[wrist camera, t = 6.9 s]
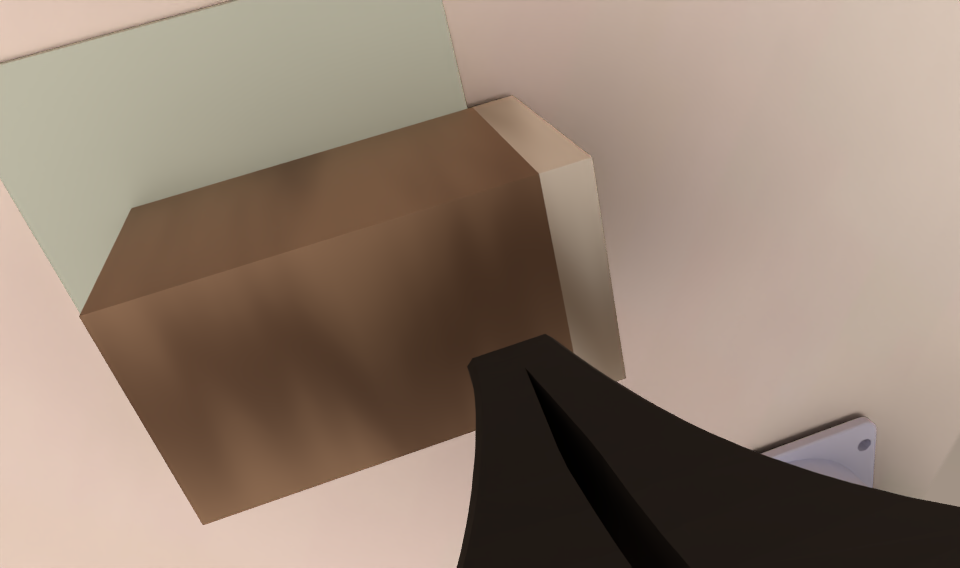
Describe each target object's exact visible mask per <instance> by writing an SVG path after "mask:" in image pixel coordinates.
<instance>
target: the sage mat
mask: <svg viewBox="0 0 960 568" xmlns="http://www.w3.org/2000/svg"><path fill="white" fill-rule="evenodd" d="M464 109H467V104H466V100H465V96H464V92H463V88H462V83H461V79H460V75H459V71H458V66H457V62H456V58H455V54H454V49H453V45H452V41H451V37H450V32H449V28H448V24H447V20H446V15H445V11H444V7H443V3H442V0H232V1H228V2H224V3H220V4H217V5H213V6H209V7H206V8H202V9H198V10H195V11H191V12H187V13H184V14H180V15H176V16H172V17H169V18H165V19H161V20H158V21H154V22H150V23H147V24H143V25H139V26H135V27H132V28H128V29H124V30H121V31H117V32H113V33H110V34H106V35H102V36H98V37H95V38H91V39H87V40H84V41H80V42H76V43H73V44H69V45H65V46H61V47H58V48H54V49H50V50H47V51H43V52H39V53H36V54H32V55H28V56H25V57H21V58H17V59H13V60H10V61H6V62H2V63H0V179H1V181H2V182H3V184H4V186H5V188H6V189H7V191H8V193H9V194H10V196H11V198H12V199H13V201H14V203H15V204H16V206H17V208H18V210H19V211H20V213H21V215H22V216H23V218H24V220H25V221H26V223H27V225H28V226H29V228H30V230H31V231H32V233H33V235H34V237H35V238H36V240H37V242H38V243H39V245H40V247H41V248H42V250H43V252H44V253H45V255H46V257H47V258H48V260H49V262H50V264H51V265H52V267H53V269H54V270H55V272H56V274H57V275H58V277H59V279H60V280H61V282H62V284H63V285H64V287H65V289H66V291H67V292H68V294H69V296H70V297H71V299H72V301H73V302H74V304H75V306H76V307H77V309H78V311H79V313H81V311H82V309H83V307H84V305H85V303H86V301H87V299H88V297H89V295H90V293H91V291H92V289H93V287H94V284H95V282H96V280H97V278H98V276H99V274H100V272H101V270H102V268H103V266H104V264H105V262H106V260H107V258H108V256H109V253H110V251H111V249H112V247H113V245H114V243H115V241H116V239H117V237H118V235H119V233H120V231H121V229H122V227H123V224H124V222H125V220H126V218H127V216H128V214H129V212H130V210H131V208H134V207H137V206H141V205H144V204H148V203H151V202H154V201H158V200H161V199H164V198H168V197H171V196H175V195H178V194H181V193H185V192H188V191H191V190H195V189H198V188H202V187H205V186H208V185H212V184H215V183H218V182H222V181H225V180H228V179H232V178H235V177H239V176H242V175H245V174H249V173H252V172H255V171H259V170H262V169H266V168H269V167H272V166H276V165H279V164H282V163H286V162H289V161H293V160H296V159H299V158H303V157H306V156H309V155H313V154H316V153H319V152H323V151H326V150H330V149H333V148H336V147H340V146H343V145H346V144H350V143H353V142H357V141H360V140H363V139H367V138H370V137H373V136H377V135H380V134H384V133H387V132H390V131H394V130H397V129H400V128H404V127H407V126H411V125H414V124H417V123H421V122H424V121H427V120H431V119H434V118H437V117H441V116H444V115H448V114H451V113H454V112H458V111H461V110H464Z"/></svg>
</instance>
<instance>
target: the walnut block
mask: <svg viewBox="0 0 960 568" xmlns="http://www.w3.org/2000/svg"><path fill="white" fill-rule="evenodd" d="M79 317H80V319H81V320H82V322H83V324H84V325H85V327H86V329H87V331H88V332H89V334H90V336H91V337H92V339H93V341H94V342H95V344H96V346H97V347H98V349H99V351H100V352H101V354H102V356H103V357H104V359H105V361H106V363H107V364H108V366H109V368H110V369H111V371H112V373H113V374H114V376H115V378H116V379H117V381H118V383H119V384H120V386H121V388H122V389H123V391H124V393H125V395H126V396H127V398H128V400H129V401H130V403H131V405H132V406H133V408H134V410H135V411H136V413H137V415H138V416H139V418H140V420H141V421H142V423H143V425H144V427H145V428H146V430H147V432H148V433H149V435H150V437H151V438H152V440H153V442H154V443H155V445H156V447H157V448H158V450H159V452H160V453H161V455H162V457H163V459H164V460H165V462H166V464H167V465H168V467H169V469H170V470H171V472H172V474H173V475H174V477H175V479H176V480H177V482H178V484H179V485H180V487H181V489H182V491H183V492H184V494H185V496H186V497H187V499H188V501H189V502H190V504H191V506H192V507H193V509H194V511H195V512H196V514H197V516H198V518H199V519H200V521H201V523H202V524H203V525H205V524H208V523H211V522H214V521H217V520H219V519H222V518H225V517H228V516H231V515H234V514H237V513H240V512H242V511H245V510H248V509H251V508H254V507H257V506H260V505H263V504H266V503H268V502H271V501H274V500H277V499H280V498H283V497H286V496H289V495H291V494H294V493H297V492H300V491H303V490H306V489H309V488H312V487H314V486H317V485H320V484H323V483H326V482H329V481H332V480H335V479H337V478H340V477H343V476H346V475H349V474H352V473H355V472H358V471H360V470H363V469H366V468H369V467H372V466H375V465H378V464H381V463H384V462H386V461H389V460H392V459H395V458H398V457H401V456H404V455H407V454H409V453H412V452H415V451H418V450H421V449H424V448H427V447H430V446H432V445H435V444H438V443H441V442H444V441H447V440H450V439H453V438H455V437H458V436H461V435H464V434H467V433H470V432H473V431H476V410H475V396H474V389H473V385H472V382H471V378H470V375H469V371H468V368H467V366H468V364H469V363H470V361H471V360H472V358H475V357H478V356H481V355H483V354H486V353H489V352H492V351H495V350H498V349H501V348H504V347H507V346H510V345H513V344H516V343H519V342H522V341H525V340H528V339H531V338H534V337H537V336H540V335H543V334H547V335H549V336H551V337H552V338H554V339H555V340H557V341H558V342H559V343H561V344H562V345H563V346H565V347H566V348H567V349H569V350H570V351H572V352H573V353H574V354H576V355H577V356H579V357H580V358H581V359H583V360H584V361H586V362H587V363H589V364H590V365H592V366H593V367H595V368H596V369H597V370H599V371H600V372H602V373H604V374H605V375H607V376H608V377H610V378H611V379H613V380H614V381H616V382H617V381H619V380H622V379H625V378H626V375H625V369H624V362H623V356H622V349H621V342H620V336H619V329H618V323H617V316H616V310H615V303H614V297H613V290H612V284H611V277H610V271H609V264H608V257H607V251H606V244H605V238H604V231H603V225H602V218H601V212H600V205H599V199H598V192H597V185H596V179H595V172H594V166H593V159H592V157H591V156H590V155H589V154H588V153H586V152H585V151H584V150H582V149H581V148H580V147H578V146H577V145H576V144H575V143H573V142H572V141H571V140H569V139H568V138H567V137H566V136H564V135H563V134H562V133H560V132H559V131H558V130H557V129H555V128H554V127H553V126H551V125H550V124H549V123H548V122H546V121H545V120H544V119H542V118H541V117H540V116H539V115H537V114H536V113H535V112H533V111H532V110H531V109H530V108H528V107H527V106H526V105H524V104H523V103H522V102H521V101H519V100H518V99H517V98H515V97H514V96H513V95H512V96H508V97H505V98H502V99H498V100H495V101H491V102H488V103H485V104H481V105H478V106H475V107H471V108H468V109H464V110H461V111H458V112H454V113H451V114H448V115H444V116H441V117H437V118H434V119H431V120H427V121H424V122H421V123H417V124H414V125H411V126H407V127H404V128H400V129H397V130H394V131H390V132H387V133H384V134H380V135H377V136H373V137H370V138H367V139H363V140H360V141H357V142H353V143H350V144H346V145H343V146H340V147H336V148H333V149H330V150H326V151H323V152H319V153H316V154H313V155H309V156H306V157H303V158H299V159H296V160H293V161H289V162H286V163H282V164H279V165H276V166H272V167H269V168H266V169H262V170H259V171H255V172H252V173H249V174H245V175H242V176H239V177H235V178H232V179H228V180H225V181H222V182H218V183H215V184H212V185H208V186H205V187H202V188H198V189H195V190H191V191H188V192H185V193H181V194H178V195H175V196H171V197H168V198H164V199H161V200H158V201H154V202H151V203H148V204H144V205H141V206H137V207H134V208H131V210H130V212H129V214H128V216H127V218H126V220H125V222H124V224H123V227H122V229H121V231H120V233H119V235H118V237H117V239H116V241H115V243H114V245H113V247H112V249H111V251H110V253H109V256H108V258H107V260H106V262H105V264H104V266H103V268H102V270H101V272H100V274H99V276H98V278H97V280H96V282H95V284H94V287H93V289H92V291H91V293H90V295H89V297H88V299H87V301H86V303H85V305H84V307H83V309H82V311H81V313H80V316H79Z"/></svg>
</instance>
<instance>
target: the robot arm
mask: <svg viewBox="0 0 960 568" xmlns="http://www.w3.org/2000/svg"><path fill="white" fill-rule="evenodd" d="M467 368H468V371H469V375H470V378H471V382H472V385H473V389H474V396H475V410H476V446H475V460H474V471H473V481H472V491H471V499H470V506H469V512H468V518H467V524H466V529H465V534H464V539H463V544H462V549H461V553H460V557H459V561H458V565H457V568H960V507H957V506H952V505H947V504H942V503H937V502H931V501H926V500H921V499H916V498H911V497H906V496H902V495H898V494H894V493H890V492H886V491H882V490H878V489H874V488H873V477H874V462H875V447H876V432H877V428H876V425H875V424H874V423H873V422H872V421H871V420H870V419H868V418H867V417H860V418H856V419H853V420H851V421H848V422H845V423H843V424H840V425H837V426H834V427H832V428H829V429H826V430H823V431H821V432H818V433H815V434H813V435H810V436H807V437H804V438H802V439H799V440H796V441H794V442H791V443H788V444H785V445H783V446H780V447H777V448H775V449H772V450H769V451H766V452H764V453H761V454H760V453H758V452H755V451H752V450H750V449H747V448H744V447H742V446H740V445H737V444H735V443H733V442H730V441H728V440H726V439H723V438H721V437H719V436H716V435H714V434H711V433H709V432H707V431H705V430H703V429H701V428H699V427H697V426H695V425H693V424H690V423H688V422H686V421H684V420H683V419H681V418H679V417H677V416H675V415H673V414H671V413H669V412H667V411H666V410H664V409H662V408H660V407H658V406H656V405H655V404H653V403H651V402H649V401H648V400H646V399H644V398H642V397H641V396H639V395H637V394H636V393H634V392H632V391H631V390H629V389H627V388H626V387H624V386H623V385H621V384H619V383H618V382H616V381H614V380H613V379H611V378H610V377H608V376H607V375H605V374H604V373H602V372H600V371H599V370H597V369H596V368H595V367H593V366H592V365H590V364H589V363H587V362H586V361H584V360H583V359H581V358H580V357H579V356H577V355H576V354H574V353H573V352H572V351H570V350H569V349H567V348H566V347H565V346H563V345H562V344H561V343H559V342H558V341H557V340H555V339H554V338H552V337H551V336H549V335H547V334H543V335H540V336H537V337H534V338H531V339H528V340H525V341H522V342H519V343H516V344H513V345H510V346H507V347H504V348H501V349H498V350H495V351H492V352H489V353H486V354H483V355H481V356H478V357H475V358H472V360H471V361H470V363H469V364H468V366H467Z"/></svg>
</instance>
